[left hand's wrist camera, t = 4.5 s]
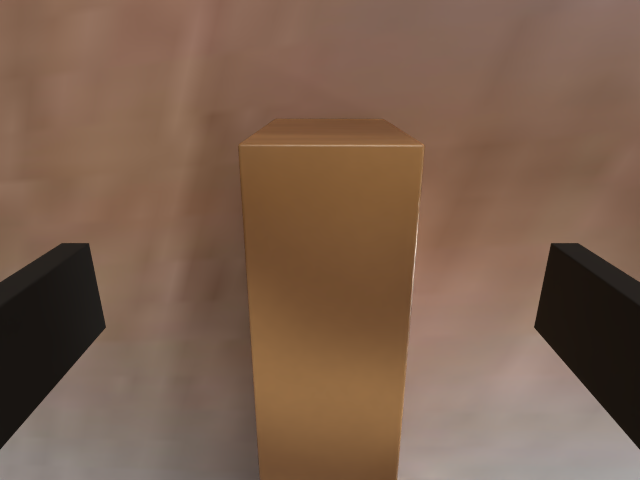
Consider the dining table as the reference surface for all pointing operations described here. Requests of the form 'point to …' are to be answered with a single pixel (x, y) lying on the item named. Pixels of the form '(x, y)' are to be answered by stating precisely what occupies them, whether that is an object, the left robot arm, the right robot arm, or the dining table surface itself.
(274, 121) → the post
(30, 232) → the dining table surface
